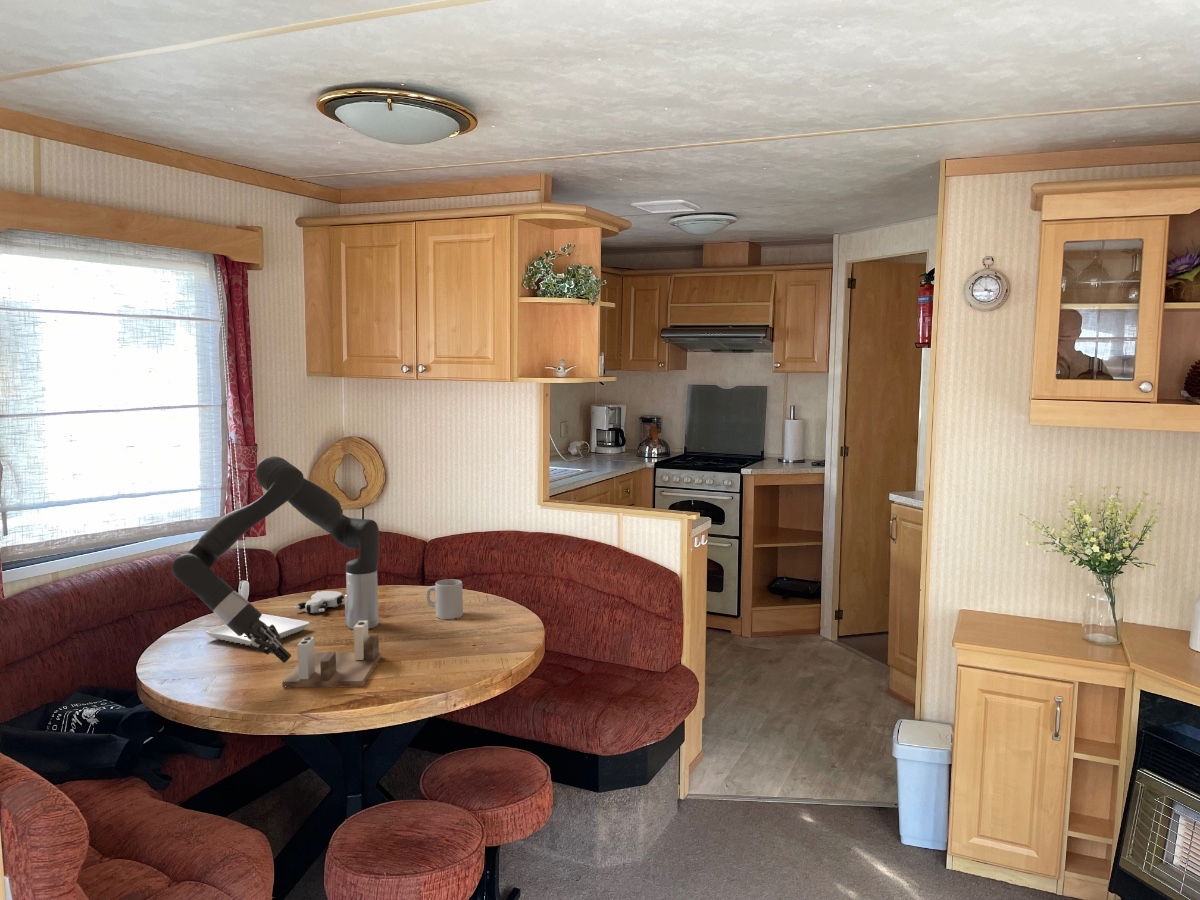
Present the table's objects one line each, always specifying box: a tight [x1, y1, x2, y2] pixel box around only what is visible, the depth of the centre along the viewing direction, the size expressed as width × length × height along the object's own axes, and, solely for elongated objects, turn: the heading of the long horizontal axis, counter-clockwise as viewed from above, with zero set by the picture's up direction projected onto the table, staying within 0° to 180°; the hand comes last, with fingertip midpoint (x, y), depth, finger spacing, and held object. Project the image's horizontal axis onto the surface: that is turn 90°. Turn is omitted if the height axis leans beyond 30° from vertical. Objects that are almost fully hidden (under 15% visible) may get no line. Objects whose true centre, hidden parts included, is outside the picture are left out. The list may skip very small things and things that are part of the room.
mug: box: [425, 578, 464, 620], centre depth 285 cm, size 12×8×11 cm
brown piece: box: [281, 634, 382, 688], centre depth 235 cm, size 20×22×6 cm
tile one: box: [353, 621, 369, 660], centre depth 242 cm, size 2×6×9 cm, turn 2°
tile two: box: [297, 636, 316, 679], centre depth 228 cm, size 2×6×9 cm, turn 2°
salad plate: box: [205, 613, 310, 646], centre depth 265 cm, size 21×21×3 cm
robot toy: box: [293, 590, 345, 614], centre depth 293 cm, size 12×4×15 cm
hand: (288, 659), depth 228 cm, fingers closed
